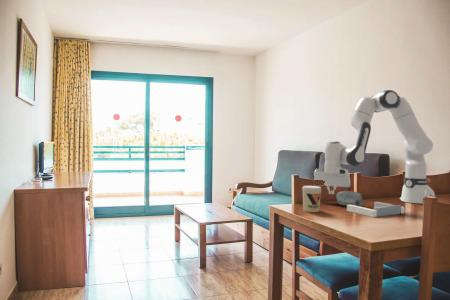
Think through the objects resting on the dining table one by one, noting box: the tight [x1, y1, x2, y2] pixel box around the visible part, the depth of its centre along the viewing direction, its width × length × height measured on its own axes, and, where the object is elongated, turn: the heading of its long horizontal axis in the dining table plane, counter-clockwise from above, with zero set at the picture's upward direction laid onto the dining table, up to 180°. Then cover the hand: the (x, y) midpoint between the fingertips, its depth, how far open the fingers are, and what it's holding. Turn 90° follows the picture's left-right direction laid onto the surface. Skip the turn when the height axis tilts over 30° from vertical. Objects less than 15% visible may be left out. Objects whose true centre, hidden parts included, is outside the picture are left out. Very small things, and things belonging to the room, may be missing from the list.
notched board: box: [346, 201, 405, 218], centre depth 187 cm, size 23×16×4 cm
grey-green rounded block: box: [336, 190, 363, 207], centre depth 202 cm, size 14×10×10 cm
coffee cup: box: [301, 185, 322, 213], centre depth 187 cm, size 9×9×12 cm
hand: (331, 193), depth 213 cm, fingers closed
